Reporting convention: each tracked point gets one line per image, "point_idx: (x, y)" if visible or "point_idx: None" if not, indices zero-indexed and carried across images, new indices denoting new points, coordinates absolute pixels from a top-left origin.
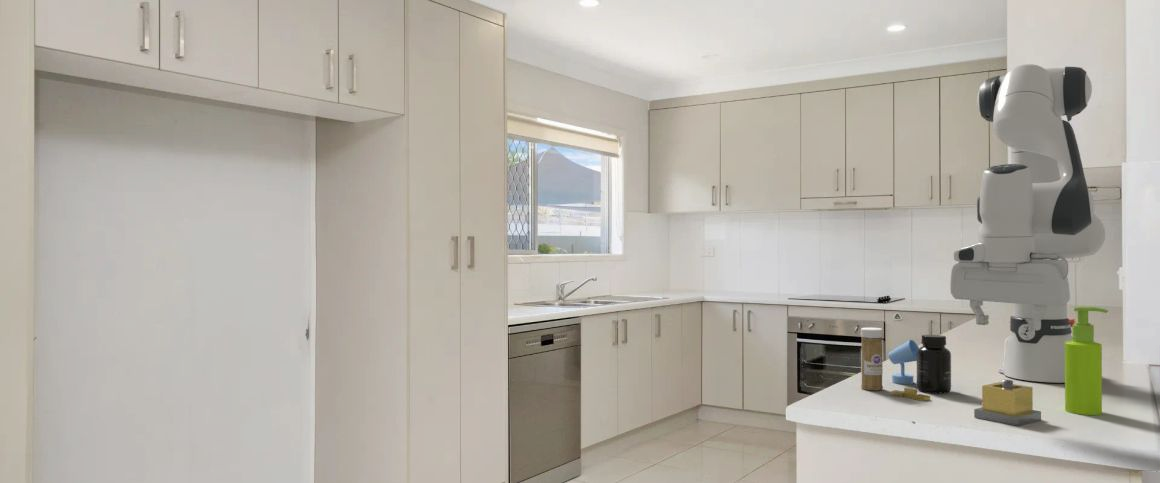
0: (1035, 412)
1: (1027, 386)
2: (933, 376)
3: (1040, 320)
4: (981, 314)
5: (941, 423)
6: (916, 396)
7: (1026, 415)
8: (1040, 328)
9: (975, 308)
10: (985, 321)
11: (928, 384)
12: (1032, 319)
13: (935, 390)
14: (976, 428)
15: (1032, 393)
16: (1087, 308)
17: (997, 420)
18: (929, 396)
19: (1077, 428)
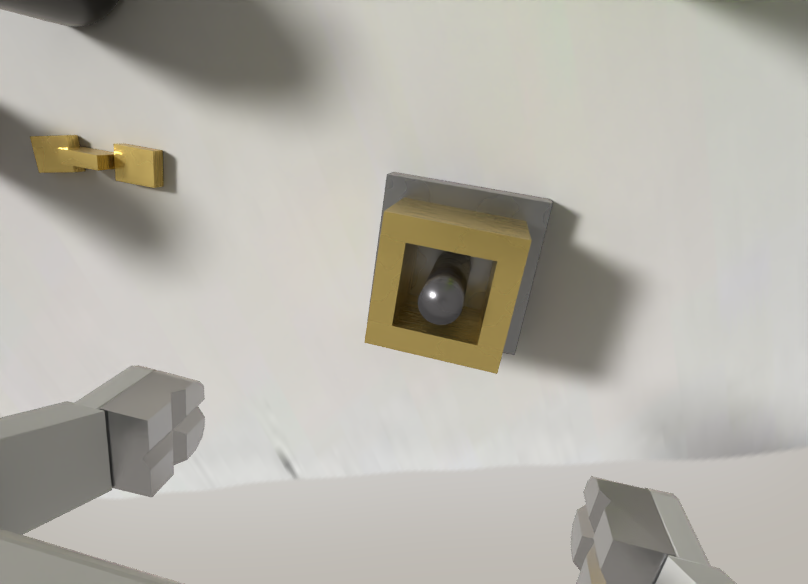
0: (540, 237)
1: (509, 236)
2: (45, 4)
3: (704, 568)
4: (102, 455)
5: (341, 438)
6: (127, 182)
7: (526, 305)
8: (672, 497)
9: (20, 534)
10: (180, 420)
11: (62, 21)
12: (619, 569)
13: (101, 14)
14: (430, 438)
15: (529, 234)
16: None
17: None
18: (153, 155)
19: (681, 250)
